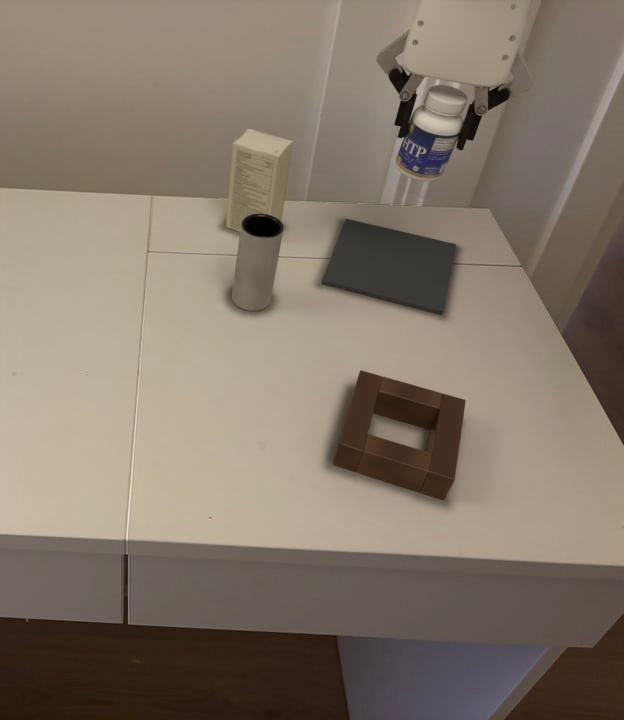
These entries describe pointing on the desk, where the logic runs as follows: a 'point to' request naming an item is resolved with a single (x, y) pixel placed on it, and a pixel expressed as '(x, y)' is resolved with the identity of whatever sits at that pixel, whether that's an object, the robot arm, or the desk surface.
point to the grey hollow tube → (256, 261)
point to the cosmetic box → (257, 176)
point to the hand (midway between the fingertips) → (431, 136)
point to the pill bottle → (432, 134)
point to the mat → (391, 266)
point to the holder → (394, 459)
